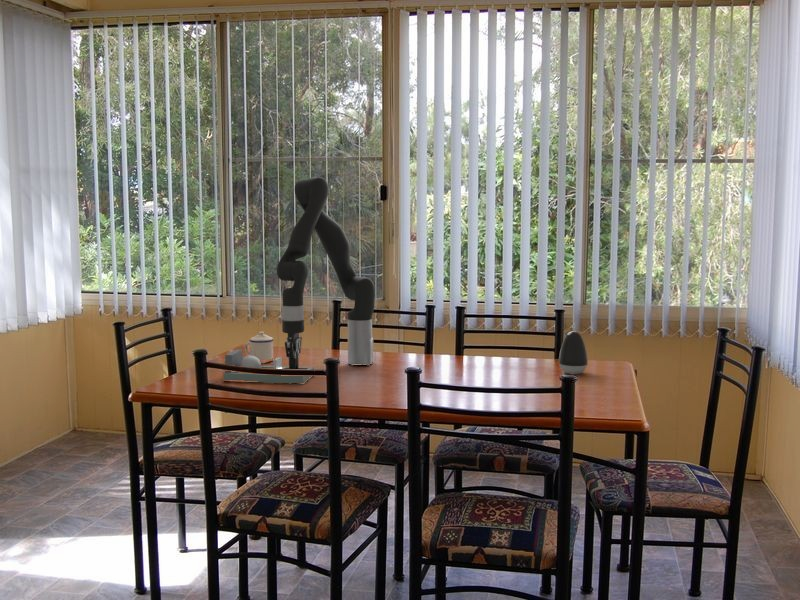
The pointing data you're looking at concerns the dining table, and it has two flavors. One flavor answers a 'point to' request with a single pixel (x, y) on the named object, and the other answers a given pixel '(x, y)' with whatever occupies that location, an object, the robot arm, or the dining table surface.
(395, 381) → the dining table surface
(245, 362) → the bath bomb
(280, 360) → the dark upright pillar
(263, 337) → the teacup with lid
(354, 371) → the dining table surface
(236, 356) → the press frame
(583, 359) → the grey egg shaped speaker
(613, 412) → the dining table surface
